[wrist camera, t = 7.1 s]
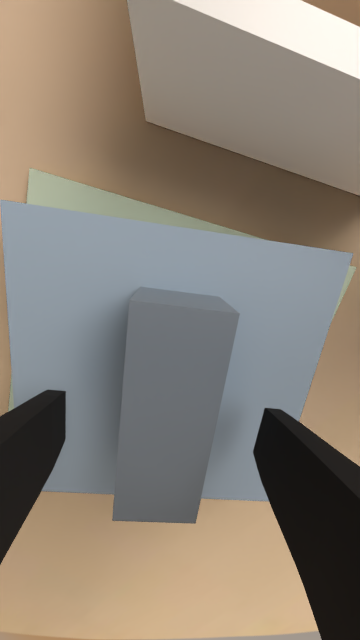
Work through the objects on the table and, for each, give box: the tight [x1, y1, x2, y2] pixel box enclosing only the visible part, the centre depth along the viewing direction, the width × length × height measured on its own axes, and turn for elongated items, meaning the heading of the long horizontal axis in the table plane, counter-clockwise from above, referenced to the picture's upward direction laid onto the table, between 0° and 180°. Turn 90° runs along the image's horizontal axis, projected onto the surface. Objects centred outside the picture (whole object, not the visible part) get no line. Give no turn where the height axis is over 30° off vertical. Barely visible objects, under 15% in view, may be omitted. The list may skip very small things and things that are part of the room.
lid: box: [0, 200, 353, 523], centre depth 10 cm, size 12×12×5 cm
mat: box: [8, 168, 357, 412], centre depth 12 cm, size 15×15×1 cm
